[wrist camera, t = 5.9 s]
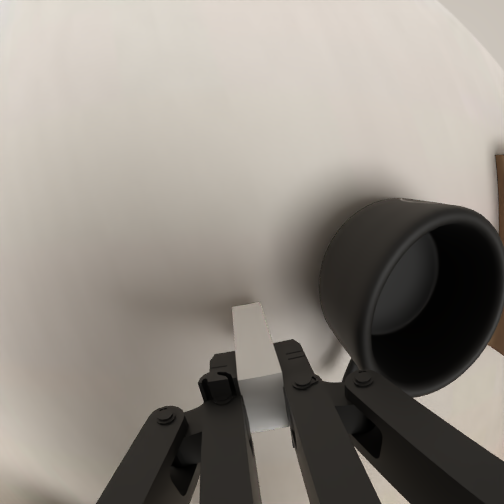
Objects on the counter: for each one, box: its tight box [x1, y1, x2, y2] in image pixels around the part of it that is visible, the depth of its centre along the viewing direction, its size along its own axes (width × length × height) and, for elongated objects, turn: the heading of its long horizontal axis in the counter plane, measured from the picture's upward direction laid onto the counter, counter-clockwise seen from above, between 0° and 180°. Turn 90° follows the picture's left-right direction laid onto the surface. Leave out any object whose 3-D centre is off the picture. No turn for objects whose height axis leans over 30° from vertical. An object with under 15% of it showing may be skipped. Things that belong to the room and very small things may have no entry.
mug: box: [319, 198, 504, 398], centre depth 15 cm, size 12×9×7 cm
